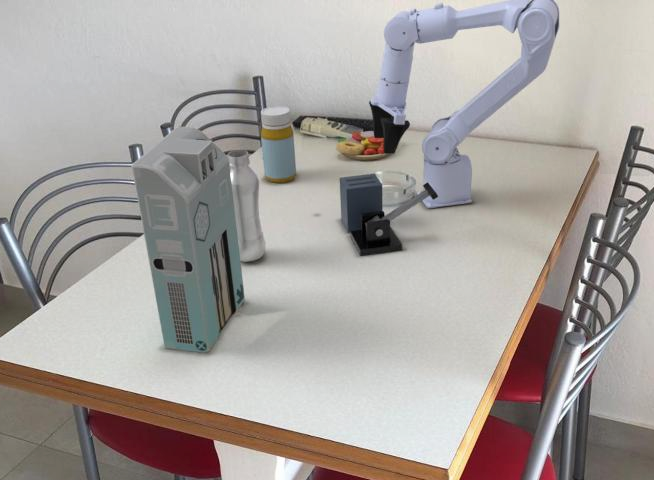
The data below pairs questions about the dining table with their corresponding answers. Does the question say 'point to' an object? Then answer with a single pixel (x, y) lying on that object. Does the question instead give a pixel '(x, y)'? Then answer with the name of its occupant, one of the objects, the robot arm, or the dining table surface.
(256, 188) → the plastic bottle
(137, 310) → the dining table surface
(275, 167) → the bottle
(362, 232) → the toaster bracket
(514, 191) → the dining table surface
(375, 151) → the toy food set
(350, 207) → the toaster body
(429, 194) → the lever
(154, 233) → the device
